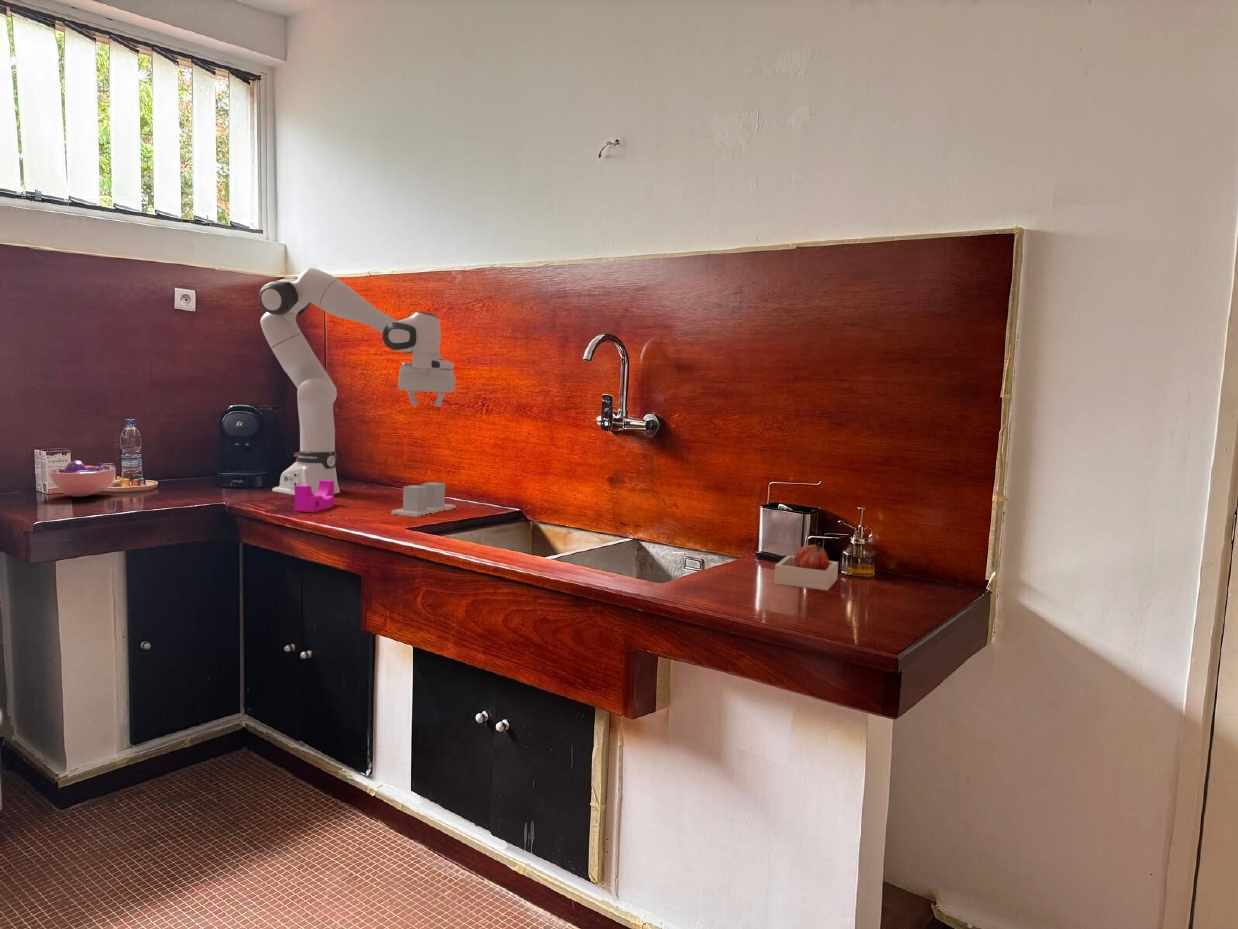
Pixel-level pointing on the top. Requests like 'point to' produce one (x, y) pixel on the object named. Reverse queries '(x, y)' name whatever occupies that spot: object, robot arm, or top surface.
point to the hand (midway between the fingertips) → (426, 405)
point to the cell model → (82, 478)
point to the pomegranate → (812, 557)
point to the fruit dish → (805, 575)
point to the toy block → (314, 497)
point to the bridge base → (423, 500)
